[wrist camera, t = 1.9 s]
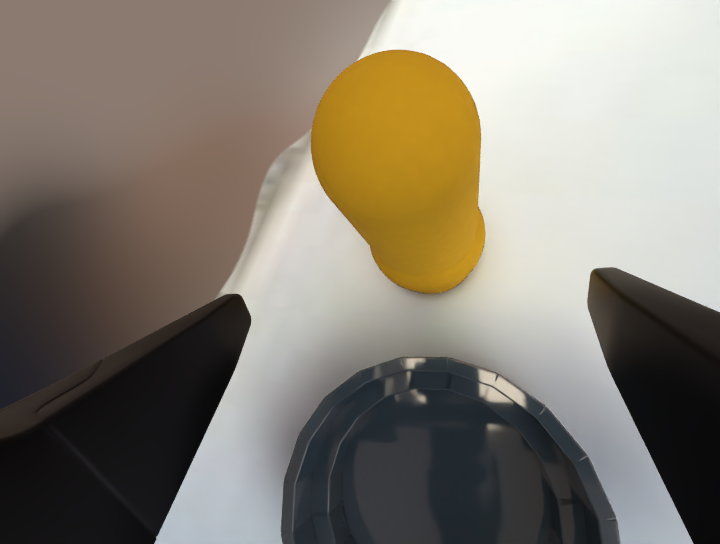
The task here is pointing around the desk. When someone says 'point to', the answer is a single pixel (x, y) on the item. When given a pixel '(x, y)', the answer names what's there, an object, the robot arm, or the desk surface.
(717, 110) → the desk surface
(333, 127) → the yellow blob
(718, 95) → the desk surface
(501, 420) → the slate bowl
